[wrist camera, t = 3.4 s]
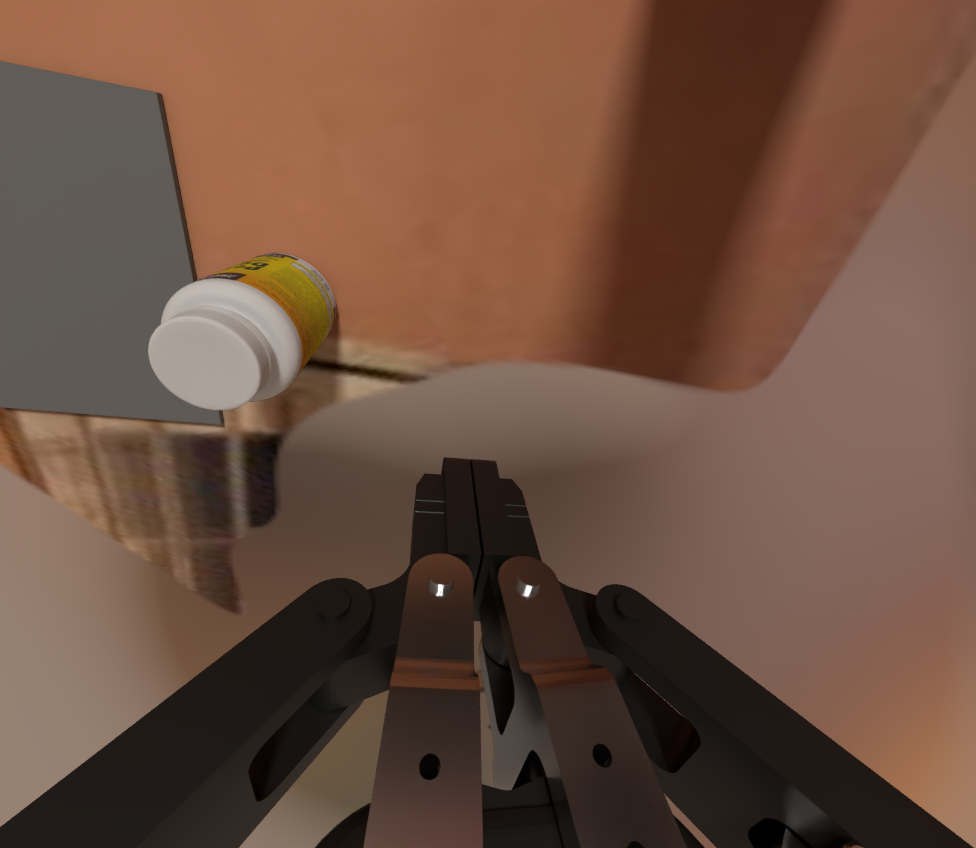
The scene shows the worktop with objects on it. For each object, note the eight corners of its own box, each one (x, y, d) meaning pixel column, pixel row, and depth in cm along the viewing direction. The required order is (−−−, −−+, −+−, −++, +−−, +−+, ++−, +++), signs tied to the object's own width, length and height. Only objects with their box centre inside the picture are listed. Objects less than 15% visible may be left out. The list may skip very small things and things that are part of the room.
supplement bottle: (295, 231, 23) (202, 263, 14) (357, 318, 25) (313, 390, 17) (217, 281, 23) (85, 341, 15) (286, 360, 26) (208, 449, 17)
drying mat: (161, 94, 19) (156, 92, 19) (223, 421, 28) (221, 424, 28) (-187, 24, 17) (-200, 21, 17) (1, 403, 26) (-5, 406, 25)
